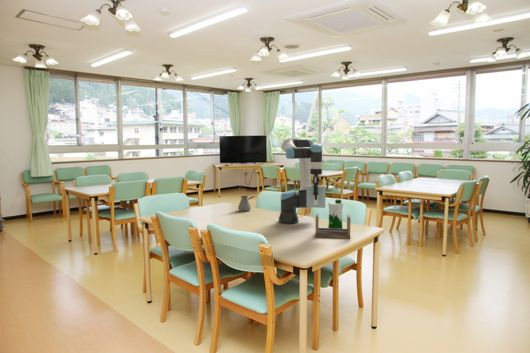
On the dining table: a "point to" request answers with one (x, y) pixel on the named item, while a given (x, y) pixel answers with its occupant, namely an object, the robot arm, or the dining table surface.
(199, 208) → the dining table surface
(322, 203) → the door panel
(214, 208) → the dining table surface
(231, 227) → the dining table surface
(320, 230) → the track frame
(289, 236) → the dining table surface
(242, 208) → the coffee pot
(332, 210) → the milk carton
